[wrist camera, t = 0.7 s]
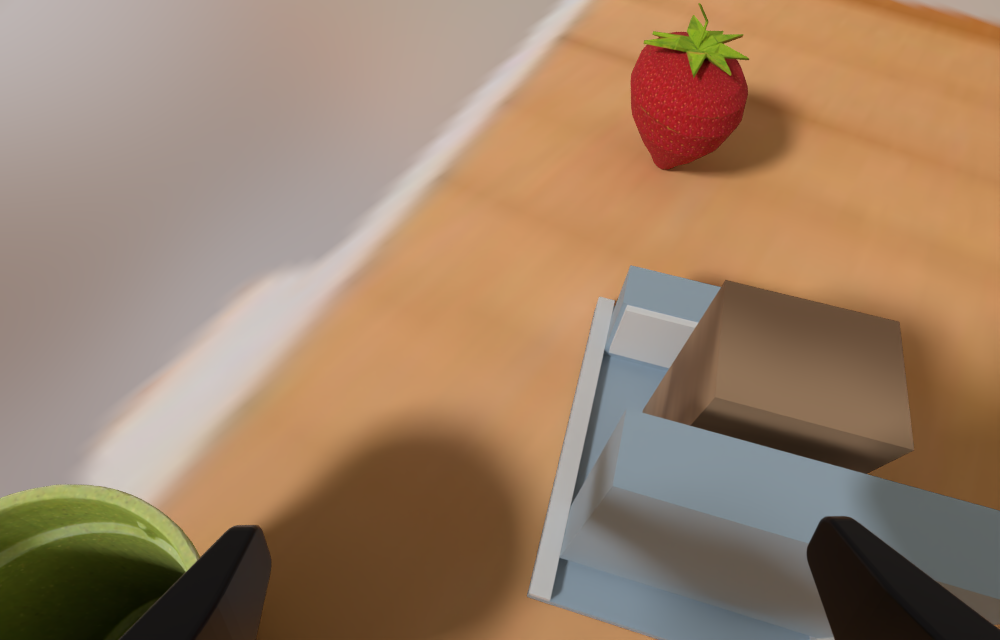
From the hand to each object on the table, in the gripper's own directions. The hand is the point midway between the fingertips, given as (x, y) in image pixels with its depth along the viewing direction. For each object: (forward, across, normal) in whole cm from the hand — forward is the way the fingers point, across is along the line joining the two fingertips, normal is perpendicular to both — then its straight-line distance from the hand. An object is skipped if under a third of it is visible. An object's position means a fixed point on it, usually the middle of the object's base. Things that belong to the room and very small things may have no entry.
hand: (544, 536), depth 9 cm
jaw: (+7, -7, +11) cm, 15 cm away
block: (+11, -8, +10) cm, 17 cm away
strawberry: (+29, -10, +2) cm, 31 cm away
